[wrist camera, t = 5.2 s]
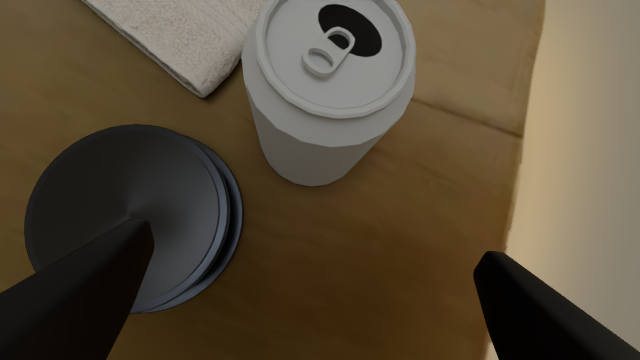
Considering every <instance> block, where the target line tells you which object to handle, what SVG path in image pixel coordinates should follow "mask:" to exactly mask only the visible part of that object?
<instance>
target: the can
mask: <svg viewBox="0 0 640 360" xmlns="http://www.w3.org/2000/svg"><path fill="white" fill-rule="evenodd" d="M415 56H416V43H415V39H414V34H413V30H412V25H411V24H410V22H409V20H408V18H407V17H406V15H405V13H404V11H403V10H402V8H401V6H400V5H399V4H398V3H397V2H396V1H395V0H266V1H265V3H264V4H263V6H262V7H261V9H260V10H259V12H258V16H257V18H256V19H255V21H254V22H253V24H252V25H251V27H250V28H249V30H248V31H247V35H246V39H245V43H244V47H243V51H242V55H241V57H242V66H243V75H244V83H245V87H246V91H247V94H248V98H249V102H250V106H251V110H252V114H253V118H254V121H255V125H256V129H257V133H258V137H259V141H260V145H261V149H262V151H263V153H264V155H265V157H266V159H267V161H268V163H269V165H270V166H271V167H272V168H273V169H274V170H275V171H276V172H277V173H278V174H279V175H280V176H282V177H284V178H286V179H287V180H289V181H291V182H293V183H295V184H300V185H306V186H319V185H327V184H329V183H331V182H334V181H336V180H338V179H340V178H342V177H343V176H344V175H345V174H346V173H347V172H348V171H349V170H350V169H351V168H352V167H353V166H354V165H355V164H356V163H357V162H358V161H359V160H360V159H361V158H362V157H363V156H364V155H365V154H366V153H367V152H368V151H369V150H370V149H371V148H372V147H373V146H374V144H375V143H376V142H377V141H378V140H379V139H380V138H381V137H382V136H383V135H384V134H385V133H386V132H387V131H388V130H389V129H390V128H391V127H392V126H393V125H394V124H395V123H396V122H397V121H398V119H399V118H400V117H401V116H402V115H403V113H404V111H405V109H406V107H407V105H408V103H409V101H410V99H411V97H412V95H413V92H414V83H415V75H416V66H415Z"/></svg>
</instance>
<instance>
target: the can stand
mask: <svg viewBox="0 0 640 360" xmlns="http://www.w3.org/2000/svg"><path fill="white" fill-rule="evenodd" d="M243 216H244V212H243V201H242V196H241V192H240V189H239V186H238V184H237V181H236V179H235V177H234V175H233V174H232V172H231V170H230V169H229V168H228V166H227V165H226V163H225V162H224V161H223V160H222V159H221V158H220V157H219V156H218V155H217V154H216V153H215V152H214V151H212V150H211V149H210V148H209V147H207V146H206V145H204V144H202V143H201V142H199V141H197V140H194V139H192V138H190V137H187V136H184V135H181V134H179V133H177V132H175V131H172V130H169V129H166V128H162V127H158V126H152V125H140V124H133V125H121V126H116V127H110V128H107V129H104V130H100V131H97V132H95V133H93V134H90V135H88V136H86V137H84V138H82V139H81V140H79V141H77V142H75V143H74V144H72V145H71V146H70V147H68V148H67V149H65V150H64V151H63V152H62V153H61V154H60V155H59V156H57V157H56V158H55V159H54V160H53V161H52V163H51V164H50V165H49V166H48V167H47V168H46V170H45V171H44V172H43V174H42V175H41V177H40V178H39V180H38V181H37V183H36V185H35V188H34V190H33V192H32V194H31V197H30V200H29V202H28V205H27V210H26V215H25V225H24V235H25V245H26V249H27V253H28V257H29V259H30V262H31V264H32V266H33V269H34V270H35V272H38V271H40V270H42V269H43V268H45V267H47V266H48V265H50V264H52V263H54V262H55V261H57V260H59V259H61V258H62V257H64V256H66V255H67V254H69V253H71V252H73V251H74V250H76V249H78V248H80V247H81V246H83V245H85V244H87V243H88V242H90V241H92V240H93V239H95V238H97V237H99V236H100V235H102V234H104V233H106V232H107V231H109V230H111V229H113V228H114V227H116V226H118V225H119V224H121V223H123V222H125V221H126V220H128V219H131V218H136V219H146V220H148V221H149V222H150V224H151V228H152V233H153V237H154V242H155V248H154V252H153V255H152V258H151V260H150V263H149V265H148V268H147V271H146V273H145V276H144V279H143V281H142V284H141V286H140V289H139V292H138V294H137V297H136V300H135V302H134V304H133V307H132V309H131V311H130V313H129V314H135V313H151V312H158V311H162V310H165V309H169V308H172V307H175V306H177V305H179V304H182V303H184V302H186V301H188V300H189V299H191V298H193V297H195V296H196V295H198V294H199V293H201V292H202V291H203V290H205V289H206V288H207V287H209V286H210V285H211V284H212V283H213V282H214V281H215V280H216V279H217V278H218V277H219V276H220V274H221V273H222V272H223V271H224V270H225V268H226V267H227V265H228V264H229V262H230V260H231V259H232V257H233V255H234V253H235V251H236V249H237V246H238V243H239V240H240V237H241V233H242V227H243Z"/></svg>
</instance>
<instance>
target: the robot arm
mask: <svg viewBox="0 0 640 360" xmlns="http://www.w3.org/2000/svg"><path fill="white" fill-rule="evenodd" d="M154 248H155V242H154V237H153V233H152V228H151V224H150V222H149V221H148V220H146V219H136V218H131V219H128V220H126V221H125V222H123V223H121V224H119V225H118V226H116V227H114V228H113V229H111V230H109V231H107V232H106V233H104V234H102V235H100V236H99V237H97V238H95V239H93V240H92V241H90V242H88V243H87V244H85V245H83V246H81V247H80V248H78V249H76V250H74V251H73V252H71V253H69V254H67V255H66V256H64V257H62V258H61V259H59V260H57V261H55V262H54V263H52V264H50V265H48V266H47V267H45V268H43V269H42V270H40V271H38V272H36V273H35V274H33V275H31V276H29V277H28V278H26V279H24V280H22V281H21V282H19V283H17V284H16V285H14V286H12V287H10V288H9V289H7V290H5V291H3V292H2V293H0V360H106V359H107V357H108V355H109V353H110V351H111V349H112V347H113V345H114V343H115V341H116V339H117V337H118V335H119V333H120V331H121V329H122V327H123V325H124V323H125V321H126V320H127V317H128V315H129V313H130V311H131V309H132V307H133V304H134V302H135V300H136V297H137V294H138V292H139V289H140V286H141V284H142V281H143V279H144V276H145V273H146V271H147V268H148V265H149V263H150V260H151V258H152V255H153V252H154ZM473 277H474V282H475V285H476V289H477V293H478V296H479V300H480V304H481V307H482V311H483V314H484V318H485V322H486V325H487V328H488V332H489V335H490V337H491V340H492V343H493V345H494V348H495V351H496V353H497V356H498V359H499V360H640V352H639V351H637V350H636V349H635V348H633V347H632V346H631V345H629V344H628V343H627V342H625V341H624V340H622V339H621V338H620V337H618V336H617V335H616V334H614V333H613V332H612V331H610V330H609V329H607V328H606V327H604V326H603V325H602V324H601V323H599V322H598V321H596V320H595V319H594V318H592V317H591V316H590V315H588V314H587V313H586V312H584V311H583V310H581V309H580V308H579V307H577V306H576V305H574V304H573V303H572V302H570V301H569V300H568V299H566V298H565V297H564V296H562V295H561V294H560V293H558V292H557V291H555V290H554V289H553V288H551V287H550V286H549V285H547V284H546V283H544V282H543V281H542V280H540V279H539V278H538V277H536V276H535V275H534V274H532V273H531V272H529V271H528V270H527V269H525V268H524V267H522V266H521V265H520V264H518V263H517V262H516V261H514V260H513V259H512V258H510V257H509V256H508V255H506V254H505V253H503V252H496V251H487V252H486V253H485V254H484V255H483V257H482V258H481V260H480V261H479V263H478V265H477V266H476V268H475V269H474V273H473Z"/></svg>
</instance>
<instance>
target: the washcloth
mask: <svg viewBox="0 0 640 360" xmlns="http://www.w3.org/2000/svg"><path fill="white" fill-rule="evenodd" d="M81 1H82V2H84V3H85V4H86V5H88V6H89V7H90V8H91V9H92V10H93V11H95V12H96V13H97V14H98V15H99V16H100V17H101V18H103V19H104V20H105V21H106V22H107V23H108V24H109V25H111V26H112V27H113V28H114V29H116V30H117V31H118V32H119V33H120V34H121V35H122V36H124V37H125V38H126V39H127V40H129V41H130V42H132V43H133V44H134V45H136V46H137V47H138V48H139V49H140V50H142V51H143V52H144V53H145V54H146V55H147V56H149V57H150V58H151V59H152V60H154V61H155V62H156V63H157V64H159V65H160V66H161V67H162V68H163V69H164V70H165V71H167V72H168V73H169V74H170V75H171V76H172V77H174V78H175V79H176V80H177V81H179V82H180V83H181V84H182V85H183V86H185V87H186V88H187V89H188V90H190V91H191V92H193V93H194V94H195V95H197V96H198V97H201V98H204V97H206V96H207V95H209V94H210V93H211V92H213V91H214V90H215V88H216V87H218V86H219V85H220V84H221V83H222V81H223V80H224V79H225V78H226V77H228V76H229V74H231V72H232V71H233V69H234V68H235V66H236V65H237V64H238V61H239V59H241V58H242V57H241V55H242V51H243V47H244V43H245V39H246V35H247V31H248V30H249V28H250V27H251V25H252V24H253V22H254V21H255V19H256V18H257V16H258V12H259V10H260V9H261V7H262V6H263V4H264V3H265V1H266V0H81Z"/></svg>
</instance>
